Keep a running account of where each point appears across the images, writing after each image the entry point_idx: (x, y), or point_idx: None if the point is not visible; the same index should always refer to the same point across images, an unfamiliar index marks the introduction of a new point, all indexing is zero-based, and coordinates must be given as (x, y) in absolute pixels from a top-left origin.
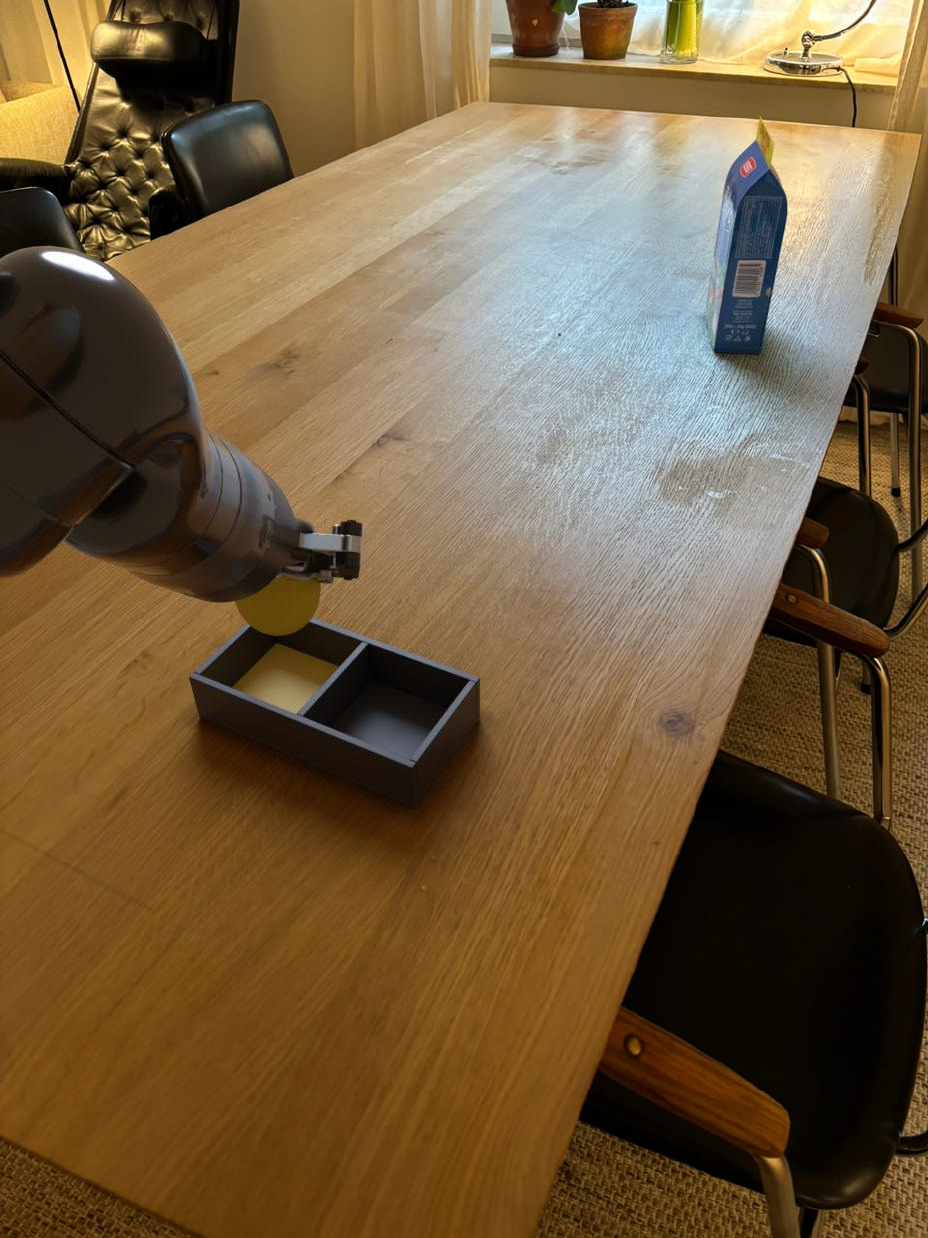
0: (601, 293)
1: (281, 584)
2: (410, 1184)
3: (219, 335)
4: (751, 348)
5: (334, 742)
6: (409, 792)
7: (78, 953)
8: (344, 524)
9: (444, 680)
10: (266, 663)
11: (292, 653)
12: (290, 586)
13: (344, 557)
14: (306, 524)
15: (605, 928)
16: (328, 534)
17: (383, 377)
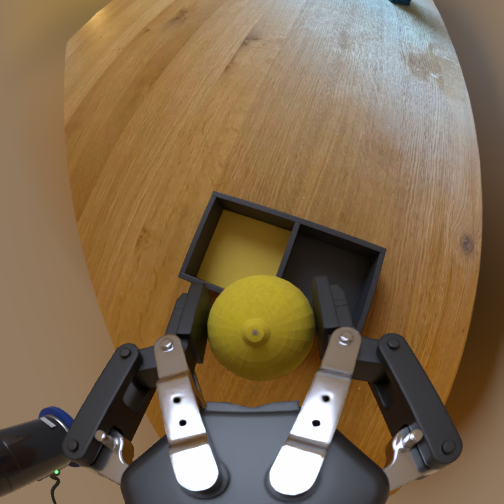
0: None
1: (284, 374)
2: None
3: (147, 14)
4: (405, 3)
5: None
6: None
7: None
8: (441, 465)
9: (359, 247)
10: (221, 230)
11: (237, 217)
12: (294, 368)
13: (422, 477)
14: (385, 501)
15: (441, 386)
16: (412, 480)
17: (234, 10)
